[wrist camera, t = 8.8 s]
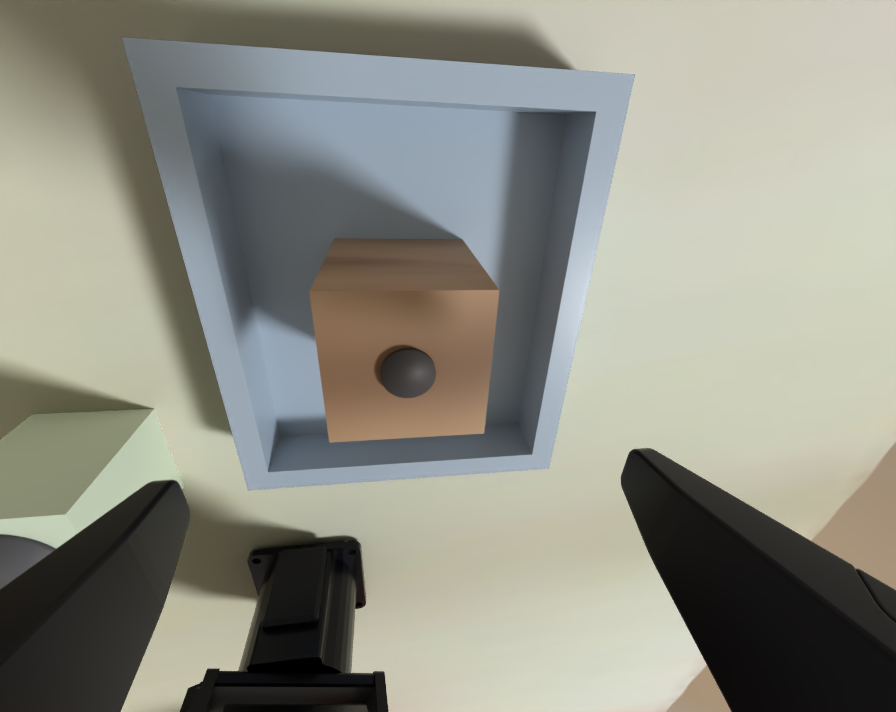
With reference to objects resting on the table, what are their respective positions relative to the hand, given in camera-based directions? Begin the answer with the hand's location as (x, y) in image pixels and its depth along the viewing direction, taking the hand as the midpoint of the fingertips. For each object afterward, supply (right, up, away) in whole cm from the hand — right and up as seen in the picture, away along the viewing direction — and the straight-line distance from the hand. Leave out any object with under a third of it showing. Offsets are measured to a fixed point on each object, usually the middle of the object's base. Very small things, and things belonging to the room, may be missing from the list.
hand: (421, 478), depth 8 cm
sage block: (-16, -2, +11) cm, 20 cm away
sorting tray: (-2, +5, +9) cm, 11 cm away
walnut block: (-1, +5, +9) cm, 10 cm away
